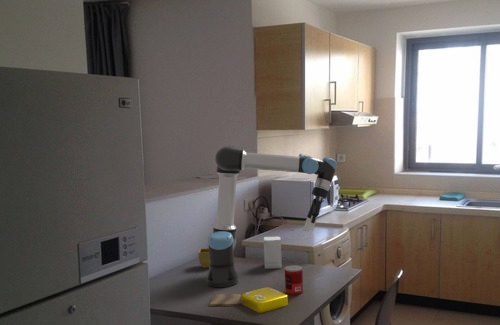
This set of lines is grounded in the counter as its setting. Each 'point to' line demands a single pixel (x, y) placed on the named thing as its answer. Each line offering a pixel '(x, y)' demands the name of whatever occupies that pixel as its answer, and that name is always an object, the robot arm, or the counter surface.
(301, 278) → the canned food
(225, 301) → the walnut trivet
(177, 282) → the counter surface
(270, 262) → the supplement box
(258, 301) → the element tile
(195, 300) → the counter surface
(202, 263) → the flower pot
